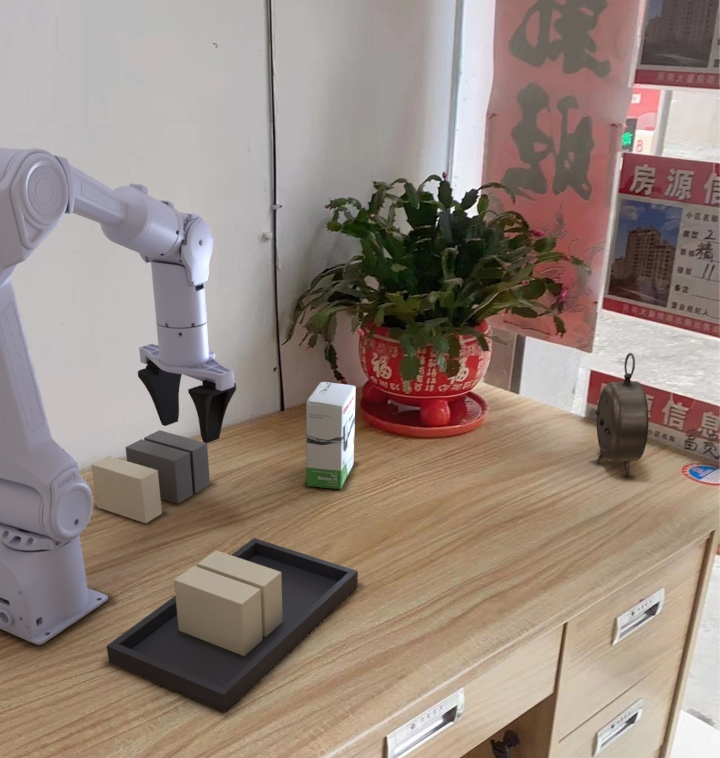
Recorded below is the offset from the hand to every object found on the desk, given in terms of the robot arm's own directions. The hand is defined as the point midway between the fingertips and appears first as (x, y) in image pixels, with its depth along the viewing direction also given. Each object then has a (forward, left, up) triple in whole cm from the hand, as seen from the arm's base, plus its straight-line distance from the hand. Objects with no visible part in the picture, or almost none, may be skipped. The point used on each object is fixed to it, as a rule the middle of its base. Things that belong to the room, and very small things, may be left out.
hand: (190, 431), depth 107 cm
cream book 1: (-21, -20, -9) cm, 31 cm away
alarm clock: (+40, -42, -10) cm, 59 cm away
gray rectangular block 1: (0, +6, -10) cm, 12 cm away
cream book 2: (-18, -20, -9) cm, 29 cm away
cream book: (-6, +6, -10) cm, 13 cm away
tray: (-18, -20, -10) cm, 29 cm away
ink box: (+16, -10, -10) cm, 22 cm away
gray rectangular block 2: (+4, +6, -10) cm, 12 cm away
